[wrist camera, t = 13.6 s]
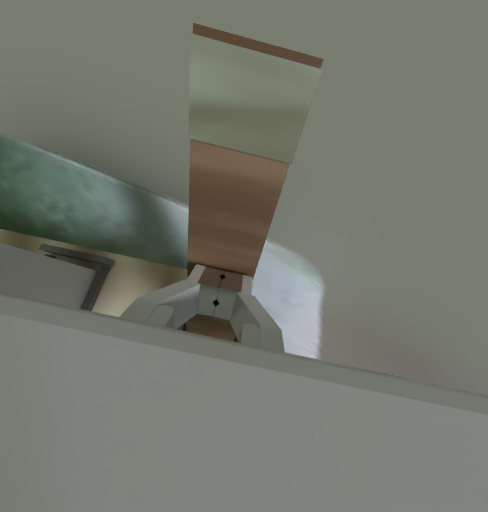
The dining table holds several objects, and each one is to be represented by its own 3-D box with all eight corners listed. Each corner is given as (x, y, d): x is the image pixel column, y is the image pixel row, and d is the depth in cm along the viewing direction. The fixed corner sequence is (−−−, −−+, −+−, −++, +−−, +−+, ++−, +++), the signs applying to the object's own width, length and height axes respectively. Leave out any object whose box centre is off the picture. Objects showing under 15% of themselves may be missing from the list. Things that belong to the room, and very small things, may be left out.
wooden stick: (227, 361, 15) (327, 56, 5) (183, 353, 15) (188, 18, 4) (230, 341, 16) (311, 75, 6) (191, 333, 16) (207, 46, 6)
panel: (-190, 367, 14) (-374, 394, 10) (-66, 217, 18) (-157, 188, 14) (222, 439, 16) (222, 489, 11) (251, 285, 20) (258, 278, 16)
